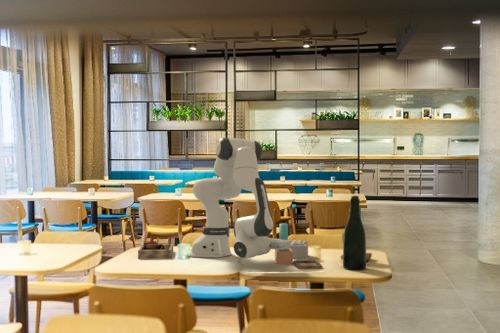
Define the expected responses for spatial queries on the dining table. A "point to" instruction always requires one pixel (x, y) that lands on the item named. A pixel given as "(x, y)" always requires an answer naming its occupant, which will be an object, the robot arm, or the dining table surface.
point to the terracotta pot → (284, 257)
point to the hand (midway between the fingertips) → (278, 240)
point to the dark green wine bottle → (354, 239)
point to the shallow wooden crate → (156, 252)
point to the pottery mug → (153, 246)
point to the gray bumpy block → (299, 249)
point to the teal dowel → (283, 233)
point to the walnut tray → (307, 264)
